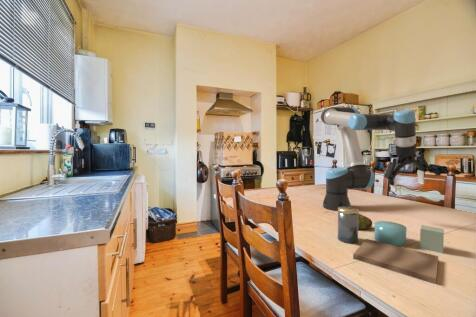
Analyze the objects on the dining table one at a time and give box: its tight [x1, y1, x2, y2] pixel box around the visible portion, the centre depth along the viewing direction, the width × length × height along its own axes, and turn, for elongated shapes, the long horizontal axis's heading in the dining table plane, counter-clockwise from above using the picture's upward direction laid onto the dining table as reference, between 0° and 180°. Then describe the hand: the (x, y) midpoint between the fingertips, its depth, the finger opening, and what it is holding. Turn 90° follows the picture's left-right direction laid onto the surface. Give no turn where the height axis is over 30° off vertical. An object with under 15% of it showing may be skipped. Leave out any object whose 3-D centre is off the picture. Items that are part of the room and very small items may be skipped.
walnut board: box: [352, 238, 439, 285], centre depth 71 cm, size 20×16×2 cm
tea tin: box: [337, 206, 360, 245], centre depth 86 cm, size 7×7×12 cm
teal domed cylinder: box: [374, 220, 407, 247], centre depth 85 cm, size 10×10×6 cm
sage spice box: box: [419, 224, 445, 254], centre depth 78 cm, size 6×5×7 cm
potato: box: [358, 213, 373, 230], centre depth 99 cm, size 8×13×8 cm, turn 53°
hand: (407, 187), depth 106 cm, fingers open, 13 cm apart
